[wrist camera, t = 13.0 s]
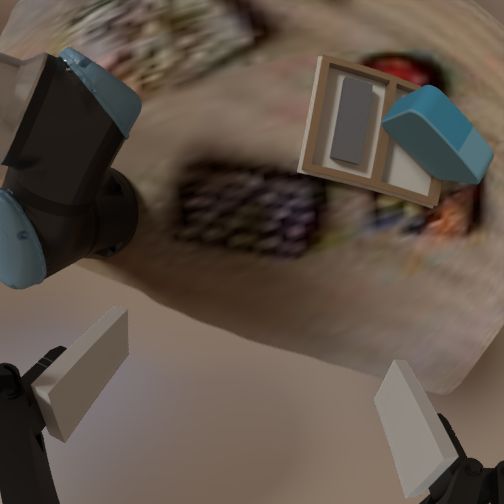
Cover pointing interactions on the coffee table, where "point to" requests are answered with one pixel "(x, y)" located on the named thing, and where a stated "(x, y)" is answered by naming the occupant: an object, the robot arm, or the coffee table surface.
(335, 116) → the slot board
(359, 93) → the rubber bar
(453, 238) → the coffee table surface
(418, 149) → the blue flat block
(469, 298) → the coffee table surface
